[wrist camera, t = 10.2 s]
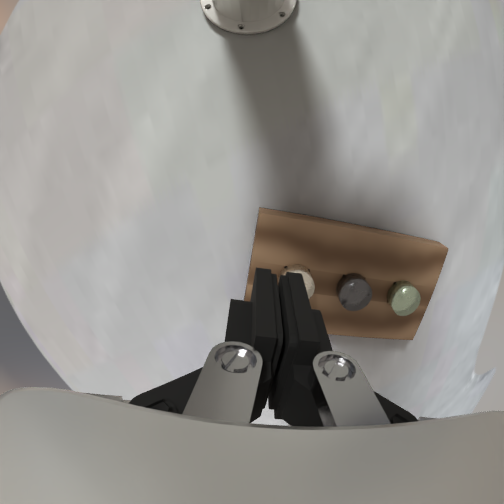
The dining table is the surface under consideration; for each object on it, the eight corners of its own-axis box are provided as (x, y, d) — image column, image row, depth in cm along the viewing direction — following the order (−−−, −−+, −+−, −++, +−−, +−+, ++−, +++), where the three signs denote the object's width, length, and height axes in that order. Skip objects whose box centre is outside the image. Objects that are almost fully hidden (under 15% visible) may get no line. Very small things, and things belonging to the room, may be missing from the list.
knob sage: (385, 270, 43) (399, 286, 38) (409, 274, 43) (424, 290, 38) (376, 296, 44) (388, 314, 39) (400, 299, 44) (414, 317, 39)
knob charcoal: (336, 262, 42) (345, 279, 37) (364, 267, 43) (376, 283, 38) (328, 290, 44) (336, 309, 39) (356, 294, 44) (366, 312, 39)
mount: (259, 207, 40) (259, 212, 38) (438, 241, 41) (448, 248, 39) (241, 312, 46) (240, 323, 43) (406, 329, 47) (412, 339, 44)
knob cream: (280, 254, 42) (283, 270, 37) (311, 259, 42) (318, 275, 37) (274, 283, 44) (276, 301, 39) (304, 287, 44) (310, 306, 39)
